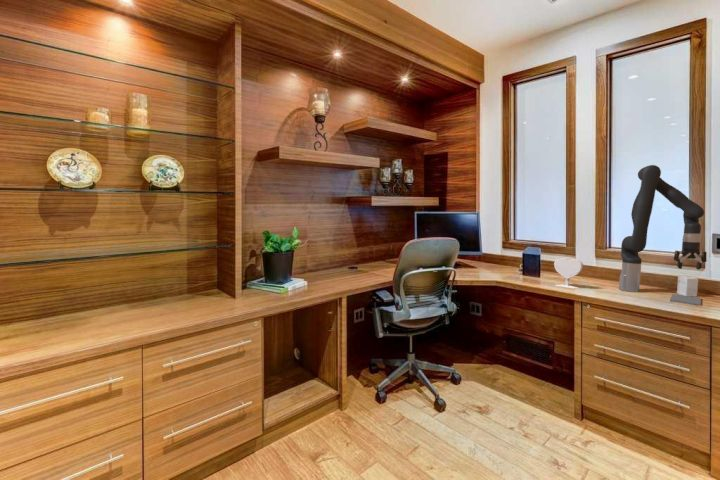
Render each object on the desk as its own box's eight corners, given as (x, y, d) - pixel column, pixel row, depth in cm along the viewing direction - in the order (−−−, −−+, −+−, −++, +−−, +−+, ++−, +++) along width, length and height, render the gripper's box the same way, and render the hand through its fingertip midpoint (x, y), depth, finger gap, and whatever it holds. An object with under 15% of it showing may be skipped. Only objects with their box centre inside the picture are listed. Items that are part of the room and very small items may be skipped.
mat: (700, 305, 184) (700, 304, 184) (669, 301, 192) (670, 299, 192) (700, 299, 197) (701, 297, 197) (672, 295, 205) (672, 294, 205)
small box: (697, 296, 202) (698, 278, 201) (685, 296, 203) (687, 278, 202) (687, 293, 210) (688, 276, 209) (676, 293, 211) (677, 275, 210)
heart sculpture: (581, 288, 223) (583, 259, 221) (579, 289, 219) (581, 260, 217) (555, 283, 234) (556, 256, 232) (552, 285, 231) (554, 257, 229)
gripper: (679, 241, 202) (677, 269, 204) (711, 242, 198) (708, 270, 200) (672, 240, 209) (670, 267, 211) (702, 240, 205) (700, 268, 207)
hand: (689, 268), depth 205 cm, fingers open, 8 cm apart
